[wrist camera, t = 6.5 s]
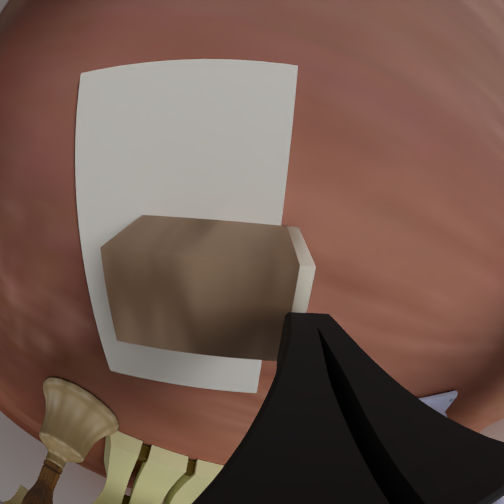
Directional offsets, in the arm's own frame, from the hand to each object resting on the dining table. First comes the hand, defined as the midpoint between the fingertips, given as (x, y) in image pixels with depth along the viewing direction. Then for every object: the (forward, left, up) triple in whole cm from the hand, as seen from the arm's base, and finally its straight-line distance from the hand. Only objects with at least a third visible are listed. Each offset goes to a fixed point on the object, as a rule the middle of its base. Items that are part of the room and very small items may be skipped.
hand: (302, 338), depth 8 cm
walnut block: (0, 0, -3) cm, 3 cm away
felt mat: (0, +6, -5) cm, 8 cm away
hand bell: (-16, +16, -6) cm, 24 cm away
